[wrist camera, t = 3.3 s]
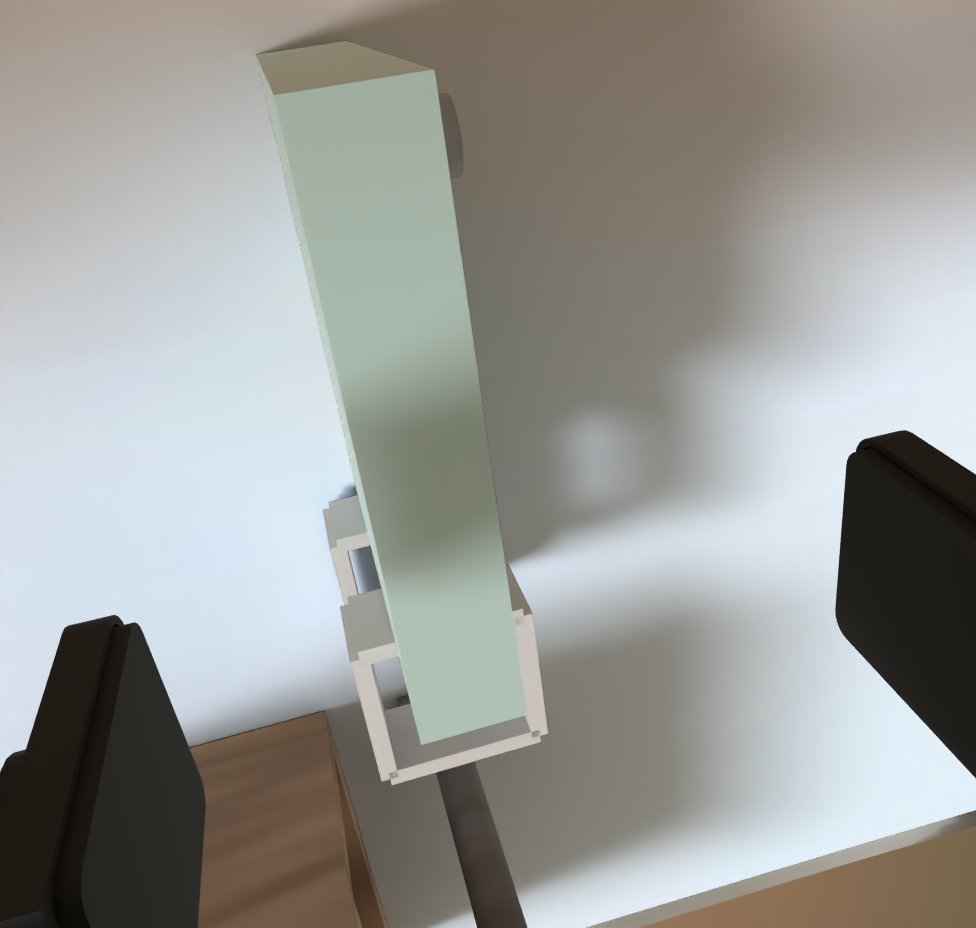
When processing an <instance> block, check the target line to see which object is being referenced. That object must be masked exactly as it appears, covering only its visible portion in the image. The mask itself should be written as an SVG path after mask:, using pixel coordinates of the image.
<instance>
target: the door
mask: <svg viewBox="0 0 976 928" xmlns="http://www.w3.org/2000/svg"><path fill="white" fill-rule="evenodd" d="M256 59H257V63H258V67H259V72H260V76H261V80H262V85H263V89H264V93H265V98H266V102H267V106H268V111H269V115H270V119H271V123H272V128H273V132H274V136H275V141H276V145H277V149H278V154H279V158H280V162H281V167H282V171H283V175H284V180H285V184H286V188H287V193H288V197H289V201H290V206H291V210H292V214H293V219H294V223H295V227H296V232H297V236H298V240H299V245H300V249H301V253H302V257H303V262H304V266H305V270H306V275H307V279H308V283H309V288H310V292H311V296H312V301H313V305H314V309H315V314H316V318H317V322H318V327H319V331H320V335H321V340H322V344H323V348H324V353H325V357H326V361H327V366H328V370H329V374H330V378H331V383H332V387H333V391H334V396H335V400H336V404H337V409H338V413H339V417H340V422H341V426H342V430H343V435H344V439H345V443H346V448H347V452H348V456H349V461H350V465H351V469H352V474H353V478H354V482H355V487H356V491H357V494H358V495H356V496H352V497H348V498H343V499H339V500H335V501H331V502H329V507H330V508H329V509H325V510H323V513H324V519H325V525H326V530H327V536H328V541H329V547H330V551H331V555H332V559H333V563H334V567H335V571H336V575H337V579H338V582H339V586H340V590H341V594H342V598H343V602H344V606H340V609H341V614H342V620H343V625H344V631H345V637H346V642H347V648H348V653H349V659H350V664H351V668H352V671H353V675H354V679H355V683H356V687H357V690H358V694H359V698H360V702H361V705H362V709H363V713H364V717H365V721H366V724H367V728H368V732H369V736H370V740H371V743H372V747H373V751H374V755H375V758H376V762H377V766H378V770H379V774H380V777H381V781H382V782H383V781H386V780H391V784H392V785H395V784H398V783H402V782H405V781H408V780H412V779H415V778H419V777H422V776H426V775H429V774H433V773H436V772H439V771H443V770H446V769H450V768H453V767H457V766H460V765H463V764H467V763H470V762H474V761H477V760H481V759H484V758H488V757H491V756H494V755H498V754H501V753H505V752H508V751H512V750H515V749H518V748H522V747H525V746H529V745H532V744H536V743H539V742H541V740H540V736H541V735H545V734H548V729H547V721H546V714H545V706H544V698H543V690H542V683H541V675H540V667H539V659H538V652H537V644H536V636H535V628H534V621H533V613H532V611H531V609H530V607H529V605H528V603H527V601H526V599H525V597H524V595H523V593H522V591H521V589H520V587H519V585H518V583H517V581H516V579H515V577H514V575H513V573H512V571H511V569H510V567H509V565H508V564H505V558H504V551H503V544H502V537H501V530H500V523H499V516H498V509H497V502H496V495H495V488H494V481H493V474H492V467H491V460H490V453H489V446H488V439H487V432H486V425H485V418H484V411H483V404H482V397H481V390H480V383H479V376H478V369H477V362H476V355H475V348H474V341H473V334H472V327H471V320H470V313H469V306H468V300H467V293H466V286H465V279H464V272H463V265H462V258H461V251H460V244H459V237H458V230H457V223H456V216H455V209H454V202H453V195H452V188H451V181H450V178H453V177H458V176H461V175H462V171H463V150H462V141H461V134H460V129H459V124H458V119H457V115H456V111H455V108H454V105H453V102H452V100H451V98H450V96H449V95H448V94H447V93H446V94H440V95H438V90H437V83H436V76H435V69H432V68H429V67H426V66H423V65H420V64H417V63H414V62H411V61H407V60H404V59H401V58H398V57H395V56H392V55H389V54H386V53H383V52H380V51H377V50H374V49H371V48H367V47H364V46H361V45H358V44H355V43H352V42H349V41H341V42H334V43H328V44H321V45H315V46H308V47H302V48H296V49H289V50H283V51H276V52H270V53H263V54H257V55H256ZM367 546H371V549H372V553H373V557H374V561H375V565H376V569H377V573H378V577H379V581H380V585H381V589H378V590H374V591H370V592H366V593H362V594H359V592H358V588H357V584H356V580H355V576H354V572H353V568H352V564H351V560H350V556H349V551H351V550H355V549H359V548H363V547H367ZM397 657H399V659H400V663H401V667H402V671H403V675H404V679H405V683H406V687H407V691H408V695H409V699H410V703H411V704H407V705H403V706H400V707H396V708H393V709H389V710H385V711H384V707H383V703H382V699H381V695H380V691H379V687H378V683H377V679H376V675H375V671H374V667H373V664H374V663H378V662H382V661H385V660H389V659H393V658H397Z"/></svg>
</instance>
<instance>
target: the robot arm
mask: <svg viewBox="0 0 976 928" xmlns="http://www.w3.org/2000/svg"><path fill="white" fill-rule="evenodd" d="M835 611H836V619H837V623H838V625H839V628H840V630H841V632H842V634H843V635H844V636H845V638H846V639H847V640H848V641H849V642H850V643H851V644H852V645H853V646H854V647H855V649H856V650H857V651H858V652H859V653H860V654H861V655H862V656H863V657H864V658H865V659H866V660H867V661H868V663H869V664H870V665H871V666H872V667H873V668H874V669H875V670H876V671H877V672H878V673H879V674H880V675H881V677H882V678H883V679H884V680H885V681H886V682H887V683H888V684H889V685H890V686H891V687H892V688H893V690H894V691H895V692H896V693H897V694H898V695H899V696H900V697H901V698H902V699H903V700H904V701H905V702H906V704H907V705H908V706H909V707H910V708H911V709H912V710H913V711H914V712H915V713H916V714H917V715H918V716H919V718H920V719H921V720H922V721H923V722H924V723H925V724H926V725H927V726H928V727H929V728H930V729H931V730H932V732H933V733H934V734H935V735H936V736H937V737H938V738H939V739H940V740H941V741H942V742H943V743H944V745H945V746H946V747H947V748H948V749H949V750H950V751H951V752H952V753H953V754H954V755H955V756H956V757H957V759H958V760H959V761H960V762H961V763H962V764H963V765H964V766H965V767H966V768H967V769H968V770H969V771H970V773H971V774H972V775H973V776H974V777H975V778H976V474H974V473H973V472H971V471H969V470H968V469H966V468H965V467H963V466H962V465H960V464H959V463H957V462H956V461H954V460H953V459H951V458H950V457H948V456H947V455H945V454H944V453H942V452H940V451H939V450H937V449H936V448H934V447H933V446H931V445H930V444H928V443H927V442H925V441H924V440H922V439H921V438H919V437H918V436H916V435H915V434H913V433H911V432H909V431H906V430H904V431H897V432H892V433H888V434H884V435H880V436H875V437H871V438H867V439H864V440H862V441H861V442H860V443H859V445H858V446H857V449H856V452H854V453H852V454H851V455H850V456H849V458H848V460H847V465H846V478H845V491H844V504H843V517H842V530H841V543H840V556H839V569H838V582H837V595H836V608H835ZM205 811H206V801H205V792H204V787H203V782H202V779H201V776H200V773H199V771H198V769H197V766H196V764H195V761H194V759H193V756H192V754H191V751H190V749H189V746H188V744H187V741H186V739H185V736H184V734H183V731H182V729H181V726H180V724H179V721H178V719H177V716H176V714H175V711H174V709H173V706H172V704H171V701H170V699H169V696H168V694H167V691H166V689H165V686H164V684H163V681H162V679H161V677H160V674H159V672H158V669H157V667H156V664H155V662H154V659H153V657H152V654H151V652H150V649H149V647H148V644H147V642H146V639H145V637H144V634H143V632H142V630H141V628H140V626H139V625H138V624H137V623H135V622H134V623H130V624H126V625H124V624H123V622H122V620H121V619H120V618H119V617H118V616H116V615H112V616H108V617H103V618H99V619H95V620H91V621H86V622H82V623H78V624H74V625H69V626H67V627H65V629H64V631H63V633H62V636H61V639H60V642H59V645H58V649H57V652H56V655H55V658H54V661H53V665H52V668H51V671H50V674H49V677H48V681H47V684H46V687H45V690H44V693H43V697H42V700H41V703H40V706H39V709H38V713H37V716H36V719H35V722H34V726H33V729H32V732H31V735H30V738H29V742H28V745H27V748H26V750H23V751H19V752H15V753H13V754H12V755H10V756H9V757H8V758H7V759H6V761H5V763H4V765H3V767H2V769H1V772H0V928H198V918H199V902H200V887H201V872H202V857H203V842H204V826H205ZM587 928H976V810H975V811H972V812H969V813H965V814H962V815H959V816H955V817H952V818H948V819H945V820H942V821H938V822H935V823H932V824H928V825H925V826H921V827H918V828H915V829H911V830H908V831H905V832H901V833H898V834H894V835H891V836H888V837H884V838H881V839H878V840H874V841H871V842H867V843H864V844H861V845H857V846H854V847H851V848H847V849H844V850H841V851H837V852H834V853H831V854H828V855H824V856H821V857H818V858H814V859H811V860H808V861H804V862H801V863H798V864H794V865H791V866H788V867H784V868H781V869H778V870H775V871H771V872H768V873H765V874H761V875H758V876H755V877H751V878H748V879H745V880H741V881H738V882H735V883H731V884H728V885H725V886H722V887H718V888H715V889H712V890H708V891H705V892H702V893H699V894H695V895H692V896H689V897H685V898H682V899H679V900H676V901H672V902H669V903H666V904H662V905H659V906H656V907H653V908H649V909H646V910H643V911H639V912H636V913H633V914H629V915H626V916H623V917H620V918H616V919H613V920H610V921H606V922H603V923H600V924H597V925H594V926H590V927H587Z"/></svg>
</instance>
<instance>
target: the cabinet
mask: <svg viewBox="0 0 976 928" xmlns="http://www.w3.org/2000/svg"><path fill="white" fill-rule="evenodd" d="M398 700H399V705H400V706H403V705H407V704H411V703H410V699H409V695H408V696H404V697H401V698H398ZM189 749H190V751H191V754H192V756H193V759H194V761H195V764H196V766H197V769H198V771H199V773H200V776H201V779H202V782H203V787H204V792H205V801H206V811H205V826H204V842H203V857H202V872H201V887H200V902H199V918H198V928H388V926H387V923H386V919H385V916H384V913H383V909H382V906H381V902H380V899H379V895H378V892H377V889H376V885H375V882H374V878H373V875H372V872H371V868H370V865H369V861H368V858H367V854H366V851H365V848H364V844H363V841H362V837H361V834H360V831H359V827H358V824H357V820H356V817H355V813H354V810H353V807H352V803H351V800H350V796H349V793H348V790H347V786H346V783H345V779H344V776H343V773H342V769H341V766H340V762H339V759H338V755H337V752H336V749H335V745H334V742H333V738H332V735H331V732H330V728H329V725H328V721H327V718H326V714H325V711H323V712H319V713H315V714H312V715H308V716H304V717H301V718H297V719H294V720H290V721H286V722H283V723H279V724H275V725H272V726H268V727H264V728H261V729H257V730H253V731H250V732H246V733H242V734H239V735H235V736H232V737H228V738H224V739H221V740H217V741H213V742H210V743H206V744H202V745H199V746H195V747H191V748H189ZM436 774H437V777H438V781H439V785H440V789H441V793H442V796H443V800H444V804H445V808H446V811H447V815H448V819H449V823H450V827H451V830H452V834H453V838H454V842H455V845H456V849H457V853H458V857H459V860H460V864H461V868H462V872H463V876H464V879H465V883H466V887H467V891H468V894H469V898H470V902H471V906H472V909H473V913H474V917H475V921H476V925H477V928H527V925H526V922H525V919H524V916H523V912H522V909H521V906H520V903H519V900H518V897H517V894H516V891H515V887H514V884H513V881H512V878H511V875H510V872H509V869H508V866H507V862H506V859H505V856H504V853H503V850H502V847H501V844H500V840H499V837H498V834H497V831H496V828H495V825H494V822H493V819H492V815H491V812H490V809H489V806H488V803H487V800H486V797H485V793H484V790H483V787H482V784H481V781H480V778H479V775H478V772H477V768H476V765H475V762H470V763H467V764H463V765H460V766H457V767H453V768H450V769H446V770H443V771H439V772H436Z"/></svg>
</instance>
